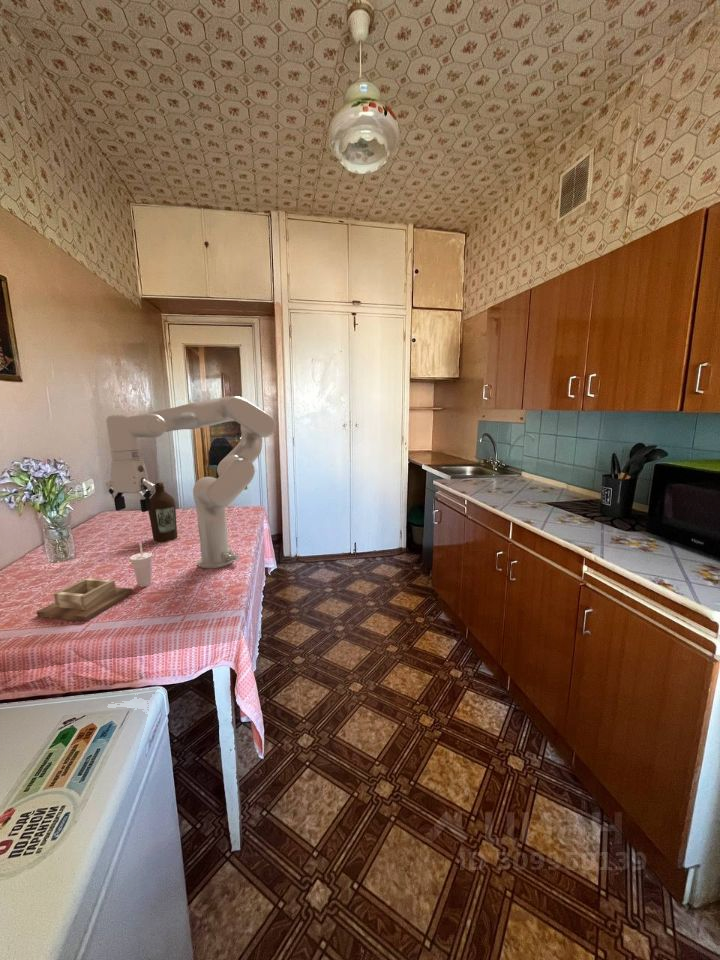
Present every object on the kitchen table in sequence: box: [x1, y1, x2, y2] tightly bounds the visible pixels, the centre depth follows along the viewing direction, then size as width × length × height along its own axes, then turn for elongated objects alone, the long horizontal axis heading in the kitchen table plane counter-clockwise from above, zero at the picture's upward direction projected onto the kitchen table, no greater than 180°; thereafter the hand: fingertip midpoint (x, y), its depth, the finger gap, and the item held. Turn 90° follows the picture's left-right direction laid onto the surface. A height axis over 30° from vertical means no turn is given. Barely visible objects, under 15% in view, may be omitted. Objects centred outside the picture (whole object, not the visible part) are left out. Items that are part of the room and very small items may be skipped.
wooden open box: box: [36, 577, 134, 623], centre depth 109 cm, size 16×16×6 cm
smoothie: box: [129, 542, 154, 588], centre depth 120 cm, size 6×6×14 cm
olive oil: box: [147, 481, 178, 543], centre depth 162 cm, size 11×11×25 cm
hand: (133, 510), depth 118 cm, fingers open, 9 cm apart
